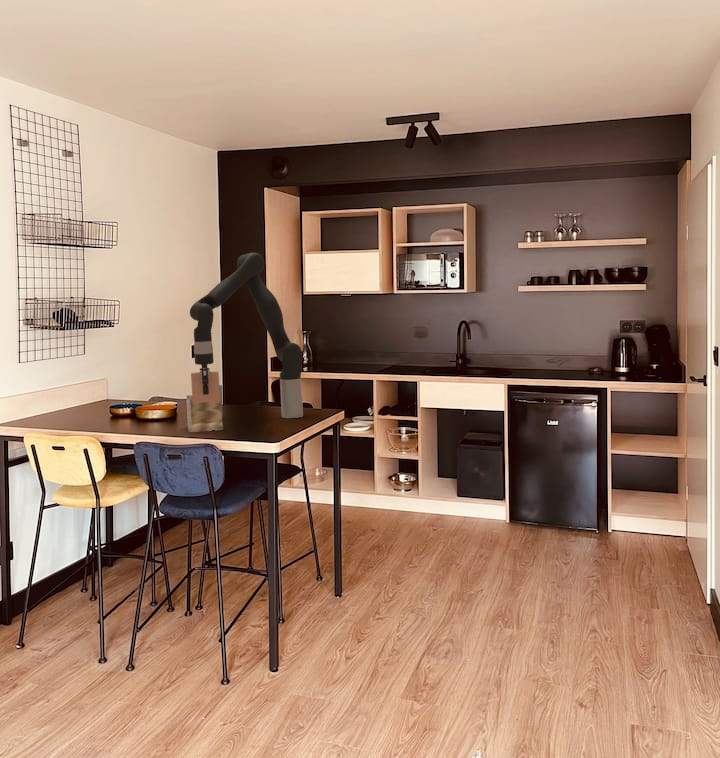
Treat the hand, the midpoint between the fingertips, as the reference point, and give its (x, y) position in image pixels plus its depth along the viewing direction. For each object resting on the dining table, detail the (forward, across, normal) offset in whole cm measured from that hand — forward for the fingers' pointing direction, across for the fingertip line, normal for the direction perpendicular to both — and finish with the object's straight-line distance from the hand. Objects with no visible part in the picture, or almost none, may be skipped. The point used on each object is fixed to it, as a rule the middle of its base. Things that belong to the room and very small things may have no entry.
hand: (206, 393), depth 307 cm
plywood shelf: (+15, +3, +1) cm, 15 cm away
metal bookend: (+14, +2, +7) cm, 16 cm away
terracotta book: (+3, 0, 0) cm, 3 cm away
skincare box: (+15, +22, -2) cm, 27 cm away
